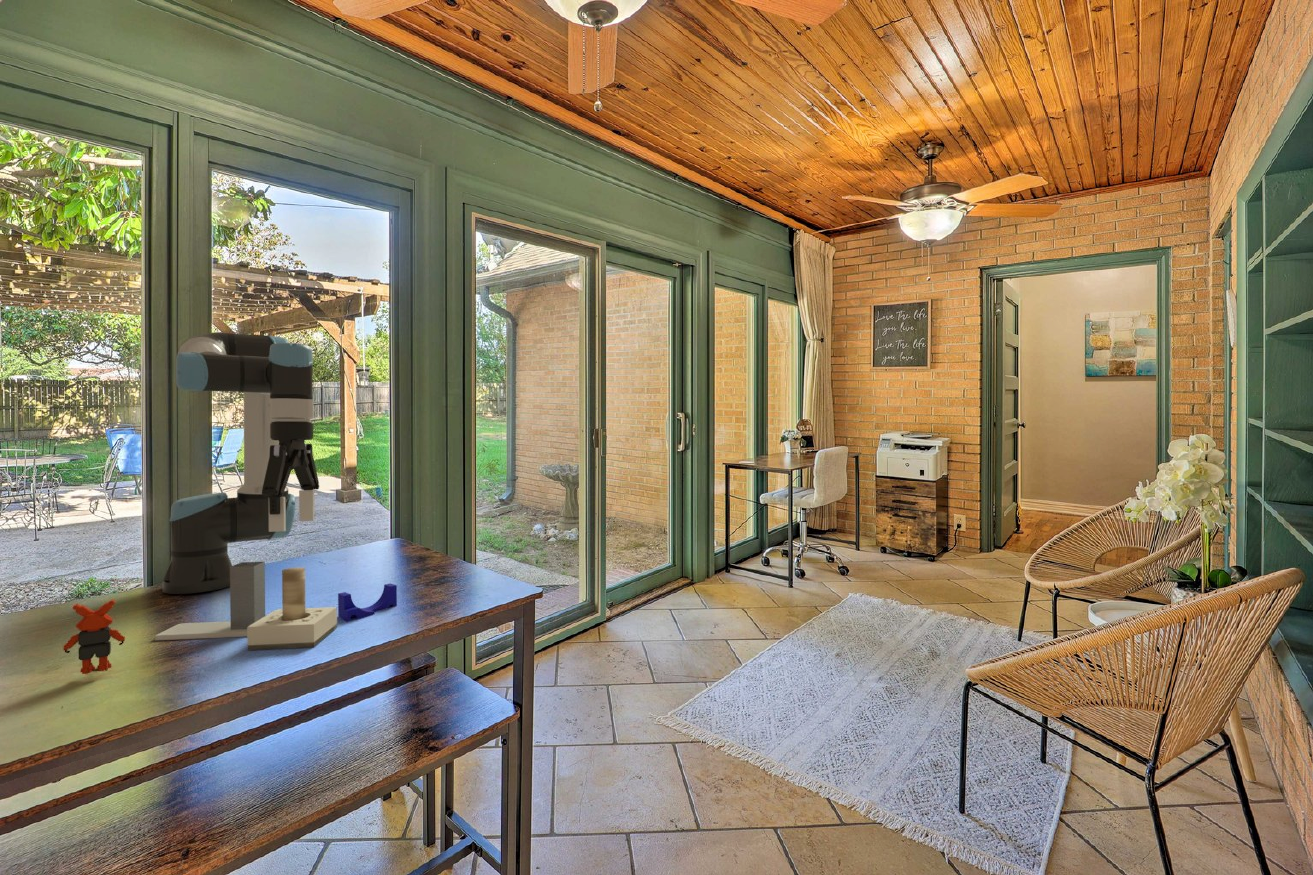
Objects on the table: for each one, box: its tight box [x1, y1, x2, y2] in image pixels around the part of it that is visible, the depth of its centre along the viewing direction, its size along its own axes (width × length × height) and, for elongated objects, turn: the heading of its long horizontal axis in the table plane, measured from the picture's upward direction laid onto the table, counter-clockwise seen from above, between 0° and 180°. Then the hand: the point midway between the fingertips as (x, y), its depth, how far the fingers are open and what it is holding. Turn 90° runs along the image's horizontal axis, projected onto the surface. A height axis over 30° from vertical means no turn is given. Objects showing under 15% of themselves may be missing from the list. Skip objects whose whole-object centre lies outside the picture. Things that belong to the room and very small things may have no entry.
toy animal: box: [62, 599, 126, 675], centre depth 111 cm, size 8×5×12 cm
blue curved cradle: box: [337, 582, 398, 623], centre depth 143 cm, size 12×4×6 cm, turn 140°
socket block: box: [246, 606, 338, 651], centre depth 127 cm, size 12×12×4 cm
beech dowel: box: [281, 567, 306, 621], centre depth 127 cm, size 4×4×13 cm
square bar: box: [229, 561, 266, 630], centre depth 132 cm, size 5×5×13 cm
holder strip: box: [154, 620, 247, 641], centre depth 132 cm, size 8×20×1 cm, turn 98°
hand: (292, 525), depth 127 cm, fingers open, 13 cm apart
